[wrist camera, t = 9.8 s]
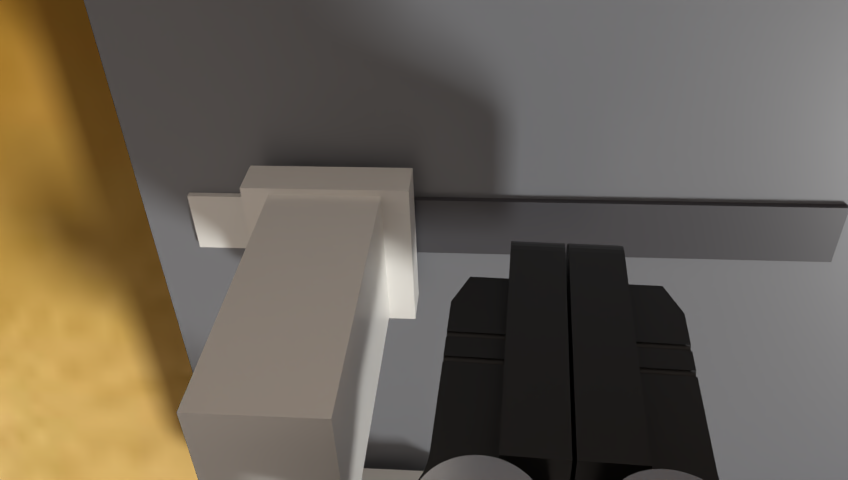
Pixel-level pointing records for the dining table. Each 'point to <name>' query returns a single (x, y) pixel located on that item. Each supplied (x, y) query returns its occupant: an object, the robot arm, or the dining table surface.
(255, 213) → the lever middle
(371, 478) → the lever
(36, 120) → the dining table surface
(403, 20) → the switch console
